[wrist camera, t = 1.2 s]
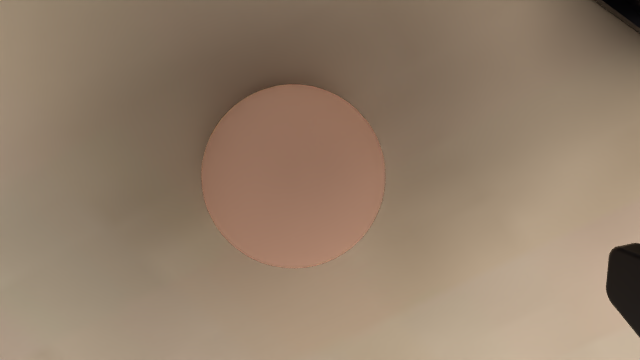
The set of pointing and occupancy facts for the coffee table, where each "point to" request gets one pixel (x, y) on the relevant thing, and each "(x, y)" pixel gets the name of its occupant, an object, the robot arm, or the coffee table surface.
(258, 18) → the coffee table surface
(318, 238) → the ball
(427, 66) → the coffee table surface
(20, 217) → the coffee table surface
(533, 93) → the coffee table surface
